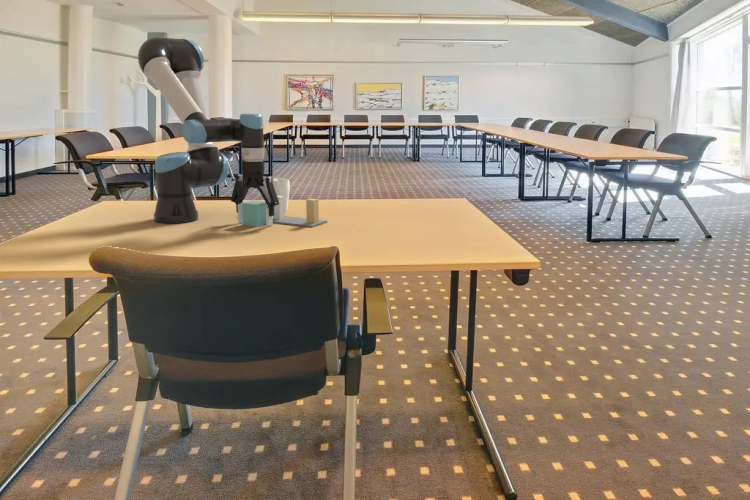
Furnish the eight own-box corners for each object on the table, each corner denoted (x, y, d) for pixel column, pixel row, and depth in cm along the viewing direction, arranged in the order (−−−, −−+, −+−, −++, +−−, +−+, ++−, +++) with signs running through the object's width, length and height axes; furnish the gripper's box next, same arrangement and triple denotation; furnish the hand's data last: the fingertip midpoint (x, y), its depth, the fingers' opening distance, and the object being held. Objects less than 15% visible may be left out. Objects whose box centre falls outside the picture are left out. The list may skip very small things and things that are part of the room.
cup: (285, 213, 239) (285, 181, 236) (263, 212, 241) (262, 180, 238) (293, 209, 248) (292, 178, 245) (271, 208, 249) (270, 177, 246)
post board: (263, 221, 222) (263, 197, 220) (279, 217, 231) (279, 193, 229) (312, 227, 214) (312, 202, 212) (327, 222, 223) (327, 198, 221)
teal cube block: (243, 225, 217) (242, 203, 215) (253, 222, 222) (252, 200, 220) (257, 226, 214) (256, 204, 212) (267, 223, 219) (266, 201, 218)
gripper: (218, 159, 214) (221, 222, 220) (275, 163, 205) (277, 229, 210) (232, 157, 221) (234, 219, 226) (288, 161, 211) (290, 225, 216)
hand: (255, 224), depth 218 cm, fingers open, 11 cm apart
